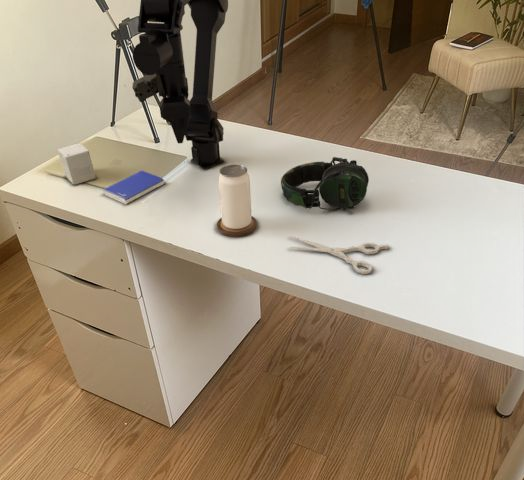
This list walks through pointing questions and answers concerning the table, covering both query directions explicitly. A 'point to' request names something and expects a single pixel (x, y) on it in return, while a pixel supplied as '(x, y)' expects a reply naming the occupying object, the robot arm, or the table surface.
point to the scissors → (341, 251)
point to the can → (235, 196)
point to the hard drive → (133, 187)
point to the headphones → (326, 184)
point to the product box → (77, 163)
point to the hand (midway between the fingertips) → (179, 134)
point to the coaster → (237, 232)
